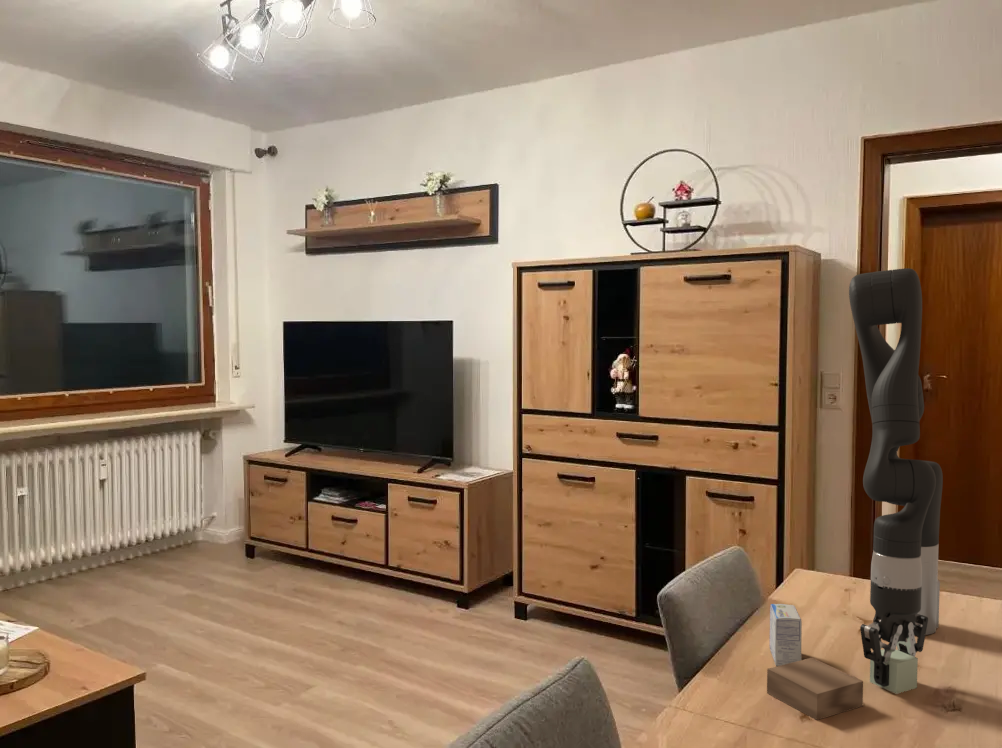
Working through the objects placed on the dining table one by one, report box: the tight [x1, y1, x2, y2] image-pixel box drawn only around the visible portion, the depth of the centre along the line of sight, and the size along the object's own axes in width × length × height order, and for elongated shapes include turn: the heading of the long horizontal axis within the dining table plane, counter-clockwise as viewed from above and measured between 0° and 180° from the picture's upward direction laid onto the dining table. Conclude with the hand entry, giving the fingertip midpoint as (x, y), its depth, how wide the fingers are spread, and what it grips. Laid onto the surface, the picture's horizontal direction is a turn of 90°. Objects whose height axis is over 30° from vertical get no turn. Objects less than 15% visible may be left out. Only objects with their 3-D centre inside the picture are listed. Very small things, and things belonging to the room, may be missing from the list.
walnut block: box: [766, 657, 864, 721], centre depth 126 cm, size 10×10×4 cm
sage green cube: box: [869, 648, 919, 695], centre depth 132 cm, size 5×5×5 cm
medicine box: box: [769, 603, 803, 667], centre depth 142 cm, size 8×4×9 cm, turn 168°
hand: (893, 680), depth 132 cm, fingers closed on sage green cube, 5 cm apart
